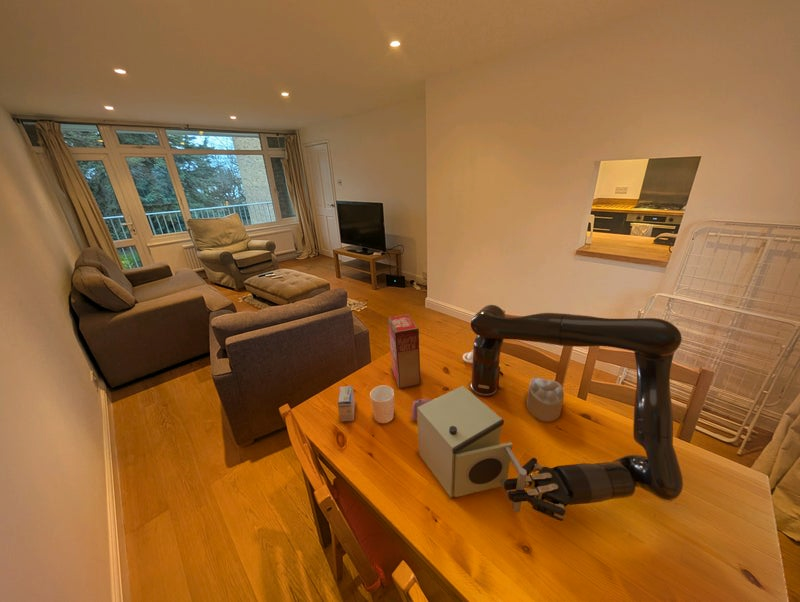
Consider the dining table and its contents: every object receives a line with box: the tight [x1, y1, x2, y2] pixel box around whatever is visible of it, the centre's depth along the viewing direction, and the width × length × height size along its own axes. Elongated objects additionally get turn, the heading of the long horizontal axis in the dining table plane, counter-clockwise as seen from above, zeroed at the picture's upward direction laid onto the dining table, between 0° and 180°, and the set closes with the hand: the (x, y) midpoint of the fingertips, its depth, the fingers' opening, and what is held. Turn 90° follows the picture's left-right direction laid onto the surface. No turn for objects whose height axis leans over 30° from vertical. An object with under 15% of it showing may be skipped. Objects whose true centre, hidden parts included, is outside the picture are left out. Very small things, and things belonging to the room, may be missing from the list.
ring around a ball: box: [462, 349, 473, 365], centre depth 125 cm, size 8×6×8 cm
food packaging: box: [387, 313, 422, 390], centre depth 114 cm, size 13×9×25 cm
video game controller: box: [411, 398, 433, 423], centre depth 98 cm, size 10×5×7 cm, turn 84°
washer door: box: [453, 441, 527, 514], centre depth 68 cm, size 14×8×14 cm, turn 101°
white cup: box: [369, 384, 395, 424], centre depth 98 cm, size 8×8×10 cm
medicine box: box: [337, 385, 356, 423], centre depth 100 cm, size 8×4×9 cm, turn 5°
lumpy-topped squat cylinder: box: [526, 377, 565, 423], centre depth 98 cm, size 10×13×9 cm
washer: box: [416, 385, 505, 499], centre depth 80 cm, size 16×16×19 cm
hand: (506, 490), depth 65 cm, fingers closed on washer door
